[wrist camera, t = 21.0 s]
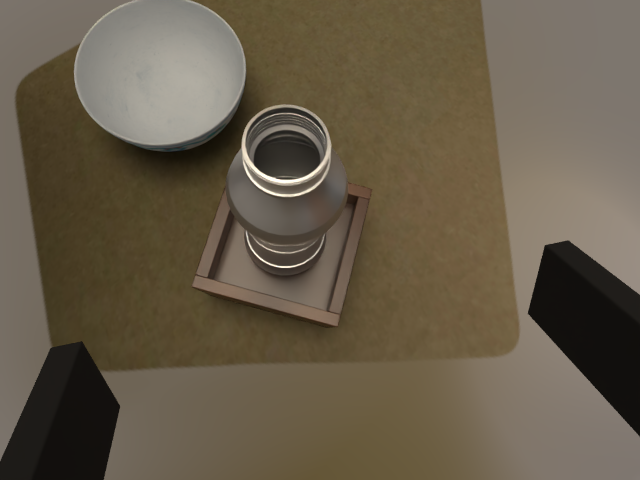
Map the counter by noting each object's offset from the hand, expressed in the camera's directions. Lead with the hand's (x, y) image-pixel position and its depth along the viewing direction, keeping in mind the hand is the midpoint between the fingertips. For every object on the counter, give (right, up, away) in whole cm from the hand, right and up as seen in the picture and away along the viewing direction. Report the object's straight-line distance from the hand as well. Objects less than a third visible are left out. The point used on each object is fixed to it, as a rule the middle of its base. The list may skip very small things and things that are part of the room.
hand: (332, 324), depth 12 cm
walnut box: (-4, +1, +30) cm, 31 cm away
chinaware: (-15, +16, +33) cm, 40 cm away
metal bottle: (-3, +2, +25) cm, 25 cm away
